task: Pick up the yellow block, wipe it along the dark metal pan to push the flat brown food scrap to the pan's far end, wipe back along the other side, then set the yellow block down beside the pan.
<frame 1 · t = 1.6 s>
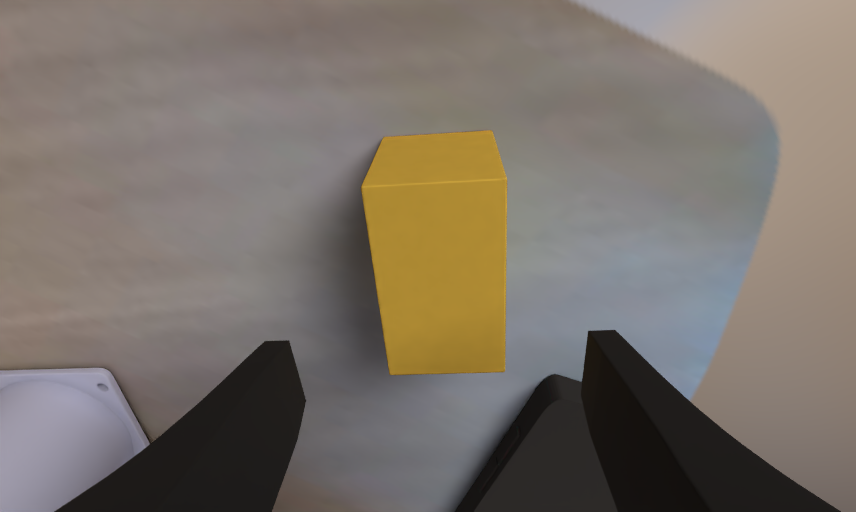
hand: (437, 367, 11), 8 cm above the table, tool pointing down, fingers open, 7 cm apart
yellow block: (442, 220, 19), on the table
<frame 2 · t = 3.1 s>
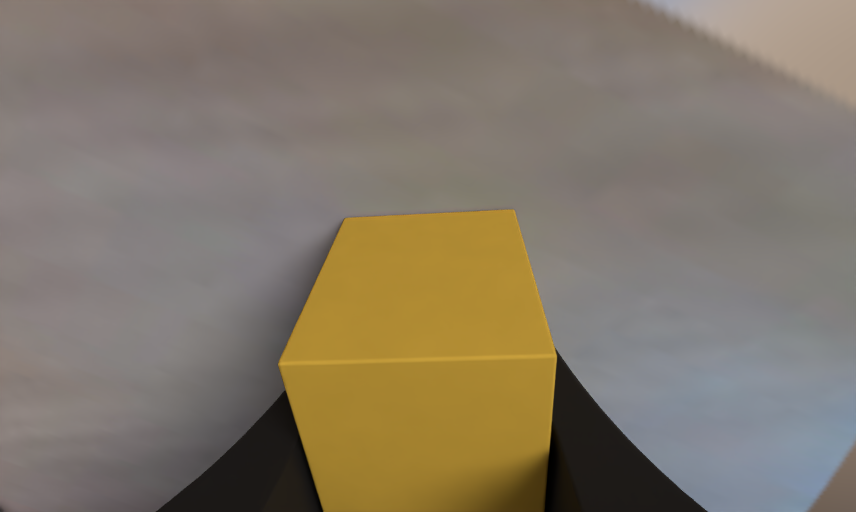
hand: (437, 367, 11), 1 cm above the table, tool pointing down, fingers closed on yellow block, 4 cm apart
yellow block: (437, 330, 13), on the table, touching gripper
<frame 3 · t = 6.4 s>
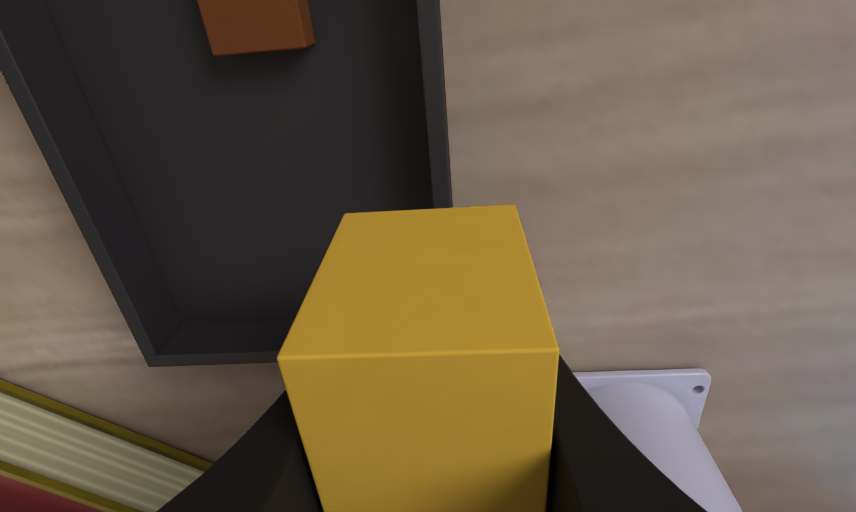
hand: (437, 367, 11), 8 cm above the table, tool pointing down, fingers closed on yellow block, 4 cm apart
pan: (263, 109, 17), on the table
yellow block: (438, 327, 13), point 7 cm above the table, touching gripper
red book: (58, 465, 28), on the table, touching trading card
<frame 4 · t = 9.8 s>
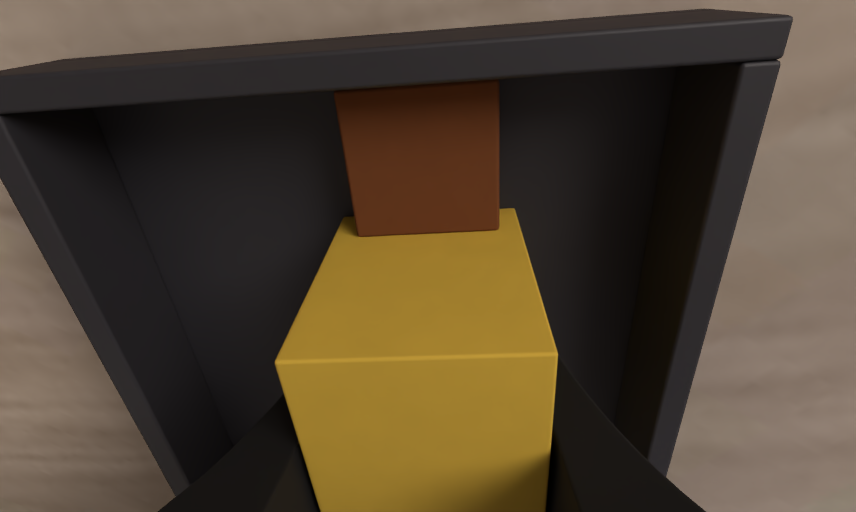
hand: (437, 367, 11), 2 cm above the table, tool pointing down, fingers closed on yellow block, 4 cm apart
pan: (411, 382, 14), on the table
yellow block: (437, 331, 13), point 1 cm above the table, touching food scrap, gripper, pan
food scrap: (424, 147, 10), resting on pan, touching yellow block
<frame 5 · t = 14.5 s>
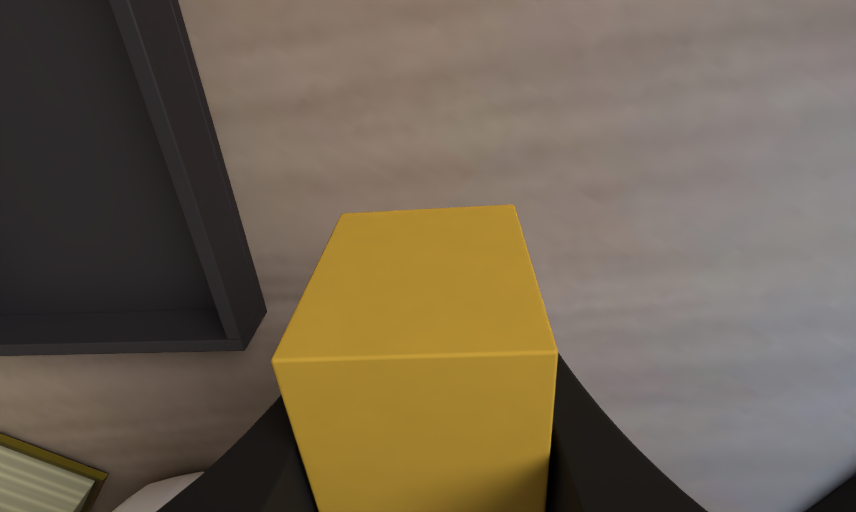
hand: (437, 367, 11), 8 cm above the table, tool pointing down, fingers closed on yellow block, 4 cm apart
pan: (30, 103, 17), on the table
yellow block: (436, 328, 12), point 7 cm above the table, touching gripper
cup: (232, 509, 29), on the table
when the fingers open (1 cm above the table, at t = 18.1 s): yellow block stays where it is, on the table.
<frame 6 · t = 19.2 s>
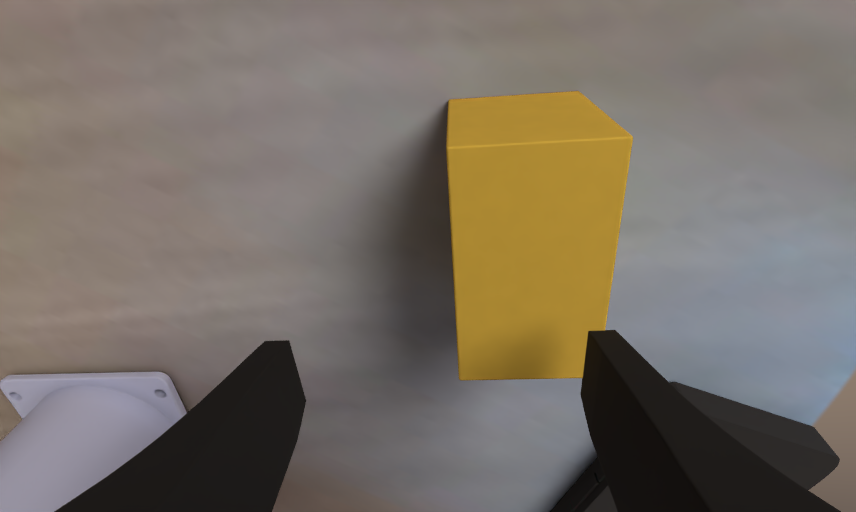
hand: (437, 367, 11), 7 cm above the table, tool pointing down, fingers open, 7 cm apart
yellow block: (511, 199, 16), on the table
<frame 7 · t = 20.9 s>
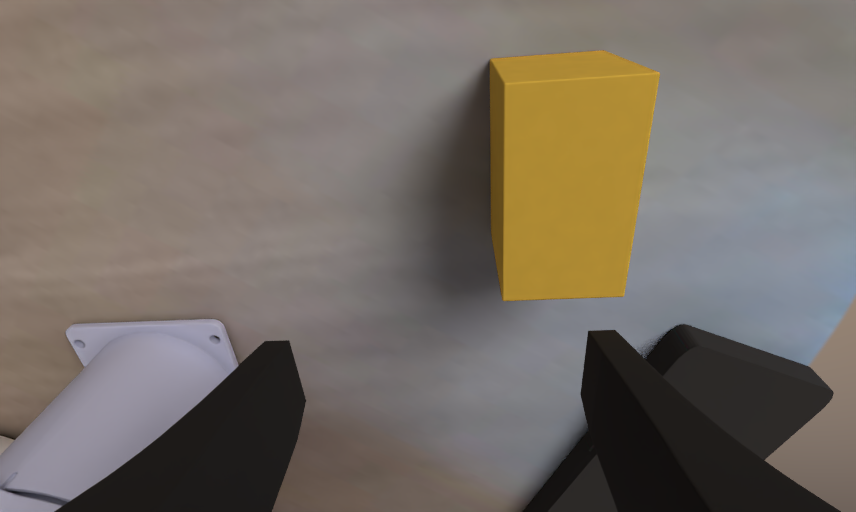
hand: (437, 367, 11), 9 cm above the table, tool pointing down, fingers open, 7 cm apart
yellow block: (542, 151, 18), on the table
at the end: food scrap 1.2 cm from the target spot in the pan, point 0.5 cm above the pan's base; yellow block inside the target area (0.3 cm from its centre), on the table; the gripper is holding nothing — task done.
